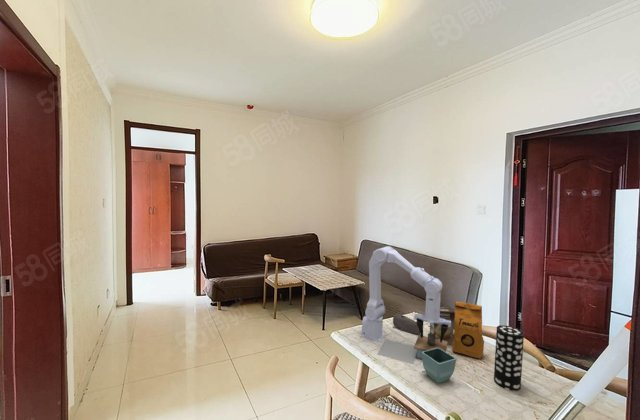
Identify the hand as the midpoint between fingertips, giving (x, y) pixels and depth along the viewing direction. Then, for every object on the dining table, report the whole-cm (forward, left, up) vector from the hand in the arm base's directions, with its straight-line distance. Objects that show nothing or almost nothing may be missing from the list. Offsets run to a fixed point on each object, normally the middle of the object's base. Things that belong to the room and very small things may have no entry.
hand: (431, 339), depth 124 cm
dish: (0, 0, -7) cm, 7 cm away
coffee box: (+3, +15, -8) cm, 17 cm away
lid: (0, 0, -3) cm, 3 cm away
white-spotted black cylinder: (+27, -6, -8) cm, 29 cm away
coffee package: (+14, +11, -8) cm, 19 cm away
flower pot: (+4, -15, -8) cm, 17 cm away
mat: (-13, -3, -7) cm, 15 cm away
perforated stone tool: (-13, +19, -8) cm, 24 cm away
